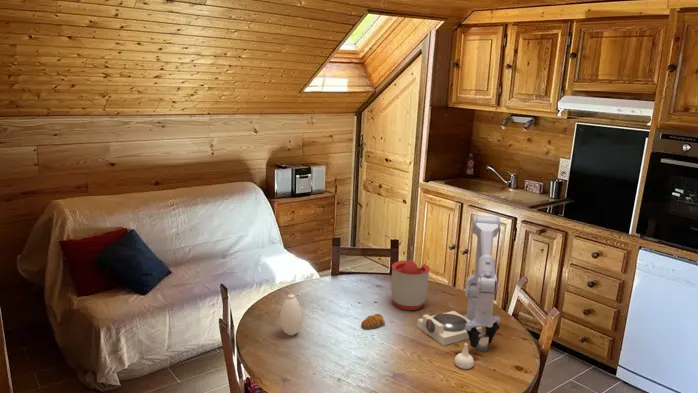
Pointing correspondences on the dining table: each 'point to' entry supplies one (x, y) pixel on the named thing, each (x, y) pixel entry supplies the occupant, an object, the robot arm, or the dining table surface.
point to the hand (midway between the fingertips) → (480, 344)
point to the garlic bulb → (464, 359)
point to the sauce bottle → (291, 315)
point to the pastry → (373, 322)
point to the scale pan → (451, 322)
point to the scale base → (438, 330)
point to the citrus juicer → (409, 284)
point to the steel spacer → (482, 342)
